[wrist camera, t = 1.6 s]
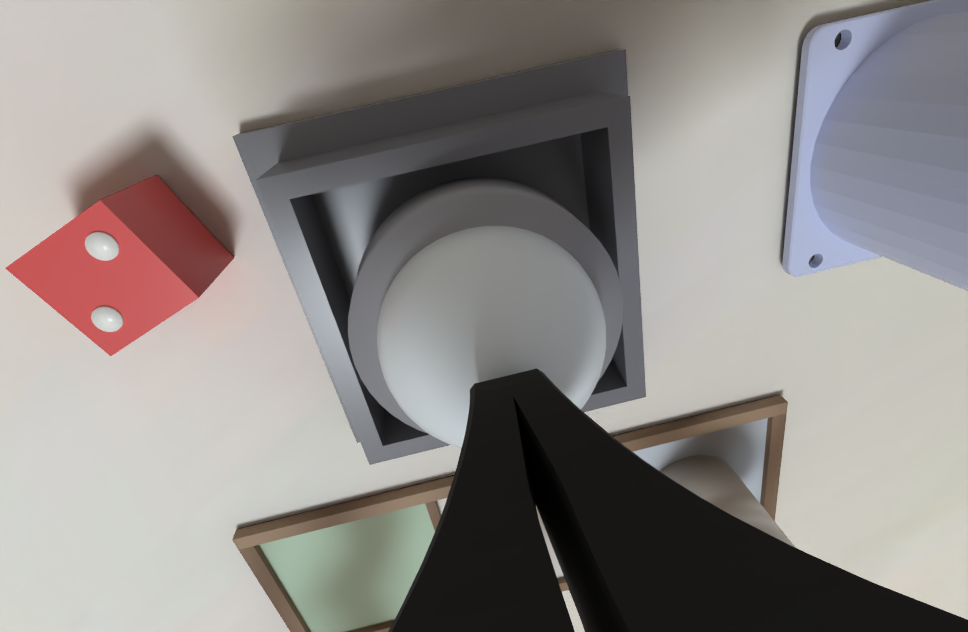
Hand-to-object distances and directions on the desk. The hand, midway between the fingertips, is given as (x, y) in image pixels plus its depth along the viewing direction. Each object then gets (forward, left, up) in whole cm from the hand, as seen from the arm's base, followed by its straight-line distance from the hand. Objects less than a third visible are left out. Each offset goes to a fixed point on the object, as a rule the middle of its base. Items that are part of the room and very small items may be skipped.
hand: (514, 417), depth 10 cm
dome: (0, 0, -6) cm, 6 cm away
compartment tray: (0, +13, -8) cm, 15 cm away
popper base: (0, 0, -8) cm, 8 cm away
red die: (+9, -3, -8) cm, 12 cm away
